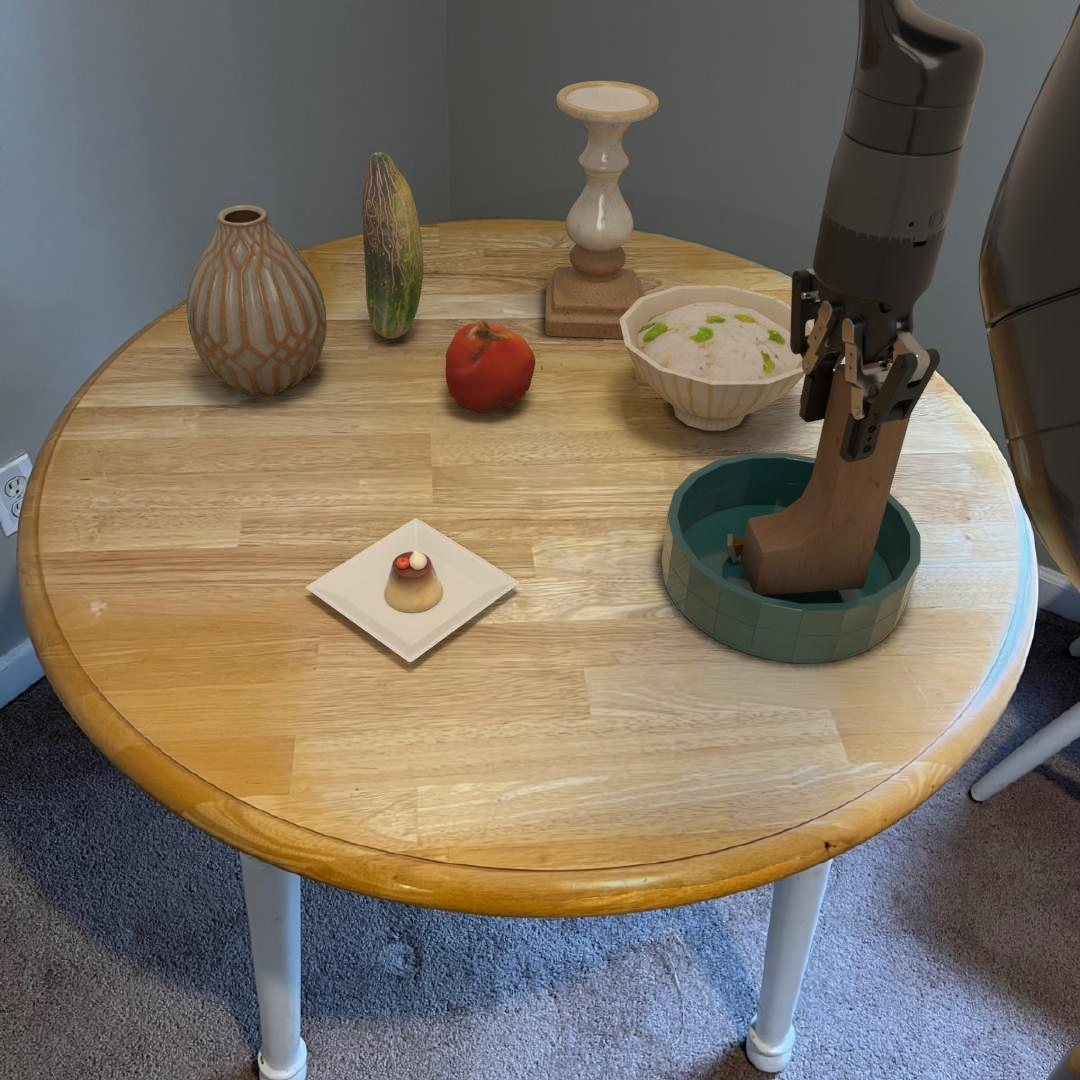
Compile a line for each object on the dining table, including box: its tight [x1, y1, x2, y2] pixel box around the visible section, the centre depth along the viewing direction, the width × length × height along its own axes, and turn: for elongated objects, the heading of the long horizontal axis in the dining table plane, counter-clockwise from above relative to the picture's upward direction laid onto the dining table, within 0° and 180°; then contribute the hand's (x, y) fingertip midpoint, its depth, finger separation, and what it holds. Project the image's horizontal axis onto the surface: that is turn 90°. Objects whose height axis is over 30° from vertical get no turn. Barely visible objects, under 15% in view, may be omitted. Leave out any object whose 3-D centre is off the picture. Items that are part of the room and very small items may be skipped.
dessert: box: [305, 517, 520, 663], centre depth 86 cm, size 12×12×5 cm
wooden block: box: [740, 361, 912, 595], centre depth 81 cm, size 9×4×18 cm, turn 97°
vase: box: [186, 204, 328, 397], centre depth 105 cm, size 13×13×18 cm
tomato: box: [445, 319, 536, 413], centre depth 107 cm, size 9×9×8 cm
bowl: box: [619, 285, 814, 432], centre depth 105 cm, size 19×19×10 cm
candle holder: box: [544, 80, 660, 340], centre depth 116 cm, size 11×11×24 cm
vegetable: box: [361, 151, 424, 340], centre depth 112 cm, size 6×6×20 cm
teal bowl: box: [660, 452, 922, 664], centre depth 88 cm, size 20×20×6 cm
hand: (833, 436), depth 78 cm, fingers closed on wooden block, 4 cm apart
